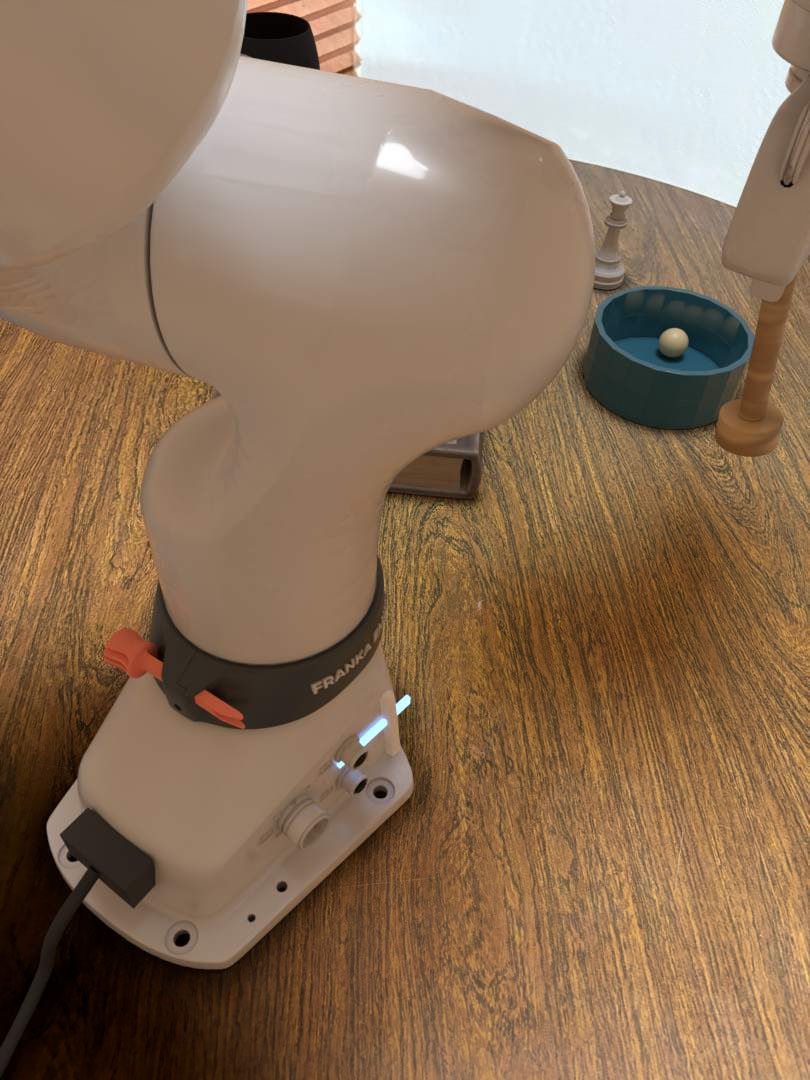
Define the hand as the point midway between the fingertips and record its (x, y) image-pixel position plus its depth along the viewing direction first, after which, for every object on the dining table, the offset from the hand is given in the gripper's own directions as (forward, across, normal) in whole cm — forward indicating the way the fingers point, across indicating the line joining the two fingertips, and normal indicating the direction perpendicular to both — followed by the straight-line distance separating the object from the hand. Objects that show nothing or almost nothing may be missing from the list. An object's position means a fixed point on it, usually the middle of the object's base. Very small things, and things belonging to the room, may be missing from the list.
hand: (773, 283), depth 51 cm
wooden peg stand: (+11, 0, -2) cm, 11 cm away
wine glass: (+23, +24, +58) cm, 67 cm away
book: (+23, +4, +32) cm, 40 cm away
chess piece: (+23, +34, +21) cm, 46 cm away
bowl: (+23, +20, +9) cm, 32 cm away
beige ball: (+21, +24, +9) cm, 33 cm away
